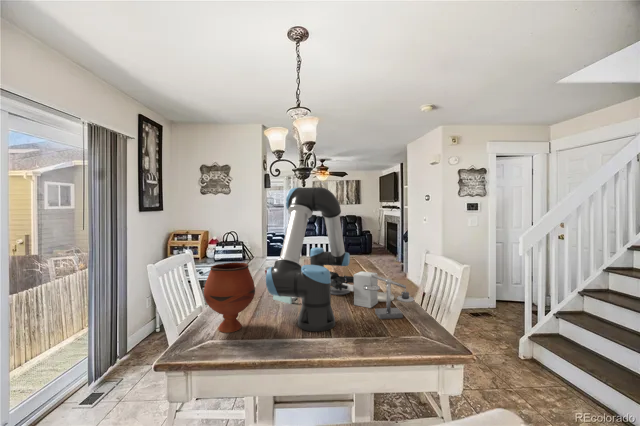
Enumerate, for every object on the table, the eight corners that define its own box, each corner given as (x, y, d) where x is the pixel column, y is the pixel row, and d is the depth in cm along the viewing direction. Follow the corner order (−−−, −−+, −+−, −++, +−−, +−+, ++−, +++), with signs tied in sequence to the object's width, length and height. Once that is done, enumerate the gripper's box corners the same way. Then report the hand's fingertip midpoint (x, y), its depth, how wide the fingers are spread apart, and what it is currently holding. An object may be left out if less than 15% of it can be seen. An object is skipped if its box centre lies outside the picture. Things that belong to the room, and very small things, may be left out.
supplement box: (378, 303, 150) (378, 272, 149) (370, 308, 142) (370, 276, 142) (361, 300, 155) (361, 270, 154) (353, 305, 147) (353, 274, 147)
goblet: (260, 319, 130) (259, 260, 129) (248, 338, 111) (247, 270, 110) (215, 318, 131) (214, 260, 130) (196, 338, 111) (194, 270, 111)
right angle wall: (290, 304, 150) (290, 289, 150) (273, 300, 157) (272, 285, 157) (306, 298, 159) (306, 284, 159) (289, 294, 167) (289, 281, 166)
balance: (365, 319, 129) (365, 276, 128) (361, 313, 136) (361, 272, 135) (416, 317, 131) (416, 274, 130) (409, 311, 138) (409, 271, 137)
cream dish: (372, 302, 150) (372, 300, 150) (365, 295, 163) (365, 292, 163) (397, 301, 152) (397, 299, 152) (389, 294, 165) (389, 291, 164)
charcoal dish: (328, 295, 162) (328, 293, 162) (325, 289, 175) (325, 286, 175) (352, 294, 164) (352, 292, 164) (347, 288, 176) (347, 286, 176)
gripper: (344, 281, 175) (376, 288, 160) (313, 290, 157) (345, 298, 142) (344, 268, 174) (376, 273, 160) (313, 275, 156) (345, 282, 142)
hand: (362, 285), depth 151 cm, fingers open, 13 cm apart
